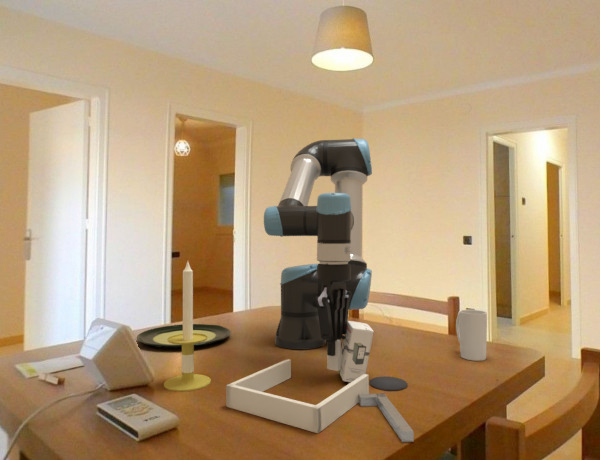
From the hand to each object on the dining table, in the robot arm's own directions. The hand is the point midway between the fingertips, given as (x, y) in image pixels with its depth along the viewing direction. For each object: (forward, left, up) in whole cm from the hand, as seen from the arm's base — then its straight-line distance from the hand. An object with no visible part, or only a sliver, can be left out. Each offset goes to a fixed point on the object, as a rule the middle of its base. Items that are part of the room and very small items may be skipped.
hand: (334, 369), depth 95 cm
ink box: (+3, +3, -2) cm, 4 cm away
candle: (-26, -19, -3) cm, 32 cm away
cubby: (0, -14, -2) cm, 14 cm away
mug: (+21, +36, -3) cm, 42 cm away
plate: (-56, +7, -3) cm, 57 cm away
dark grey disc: (+11, +4, -2) cm, 12 cm away
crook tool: (+17, -13, -3) cm, 22 cm away
